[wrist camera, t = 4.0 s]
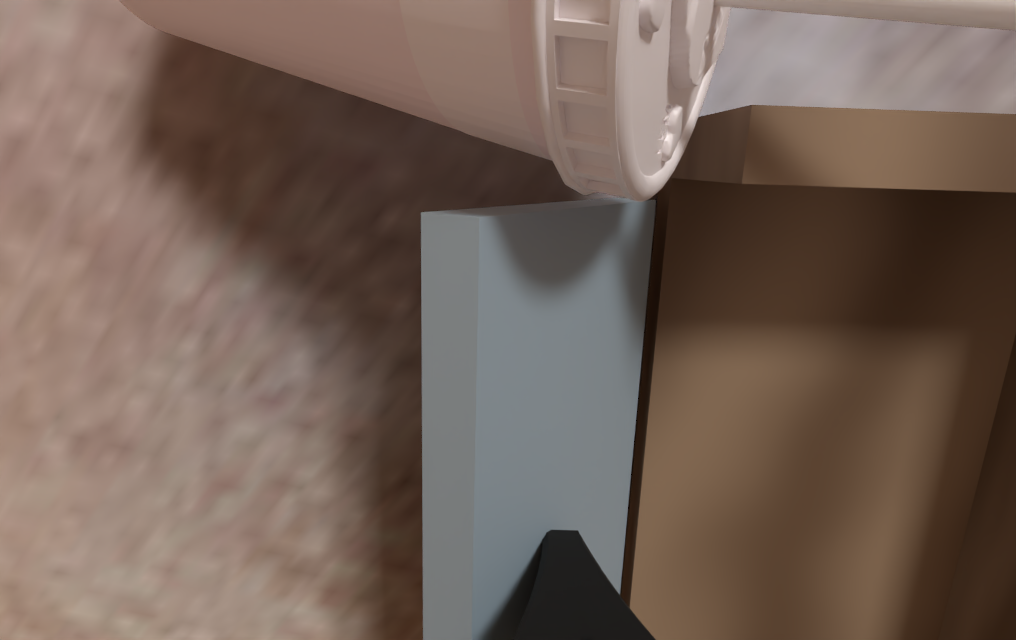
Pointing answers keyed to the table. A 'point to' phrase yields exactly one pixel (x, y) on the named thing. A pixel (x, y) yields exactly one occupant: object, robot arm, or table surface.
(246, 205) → the table surface
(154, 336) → the table surface
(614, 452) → the panel
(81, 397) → the table surface
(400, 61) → the smoothie
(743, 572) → the box
